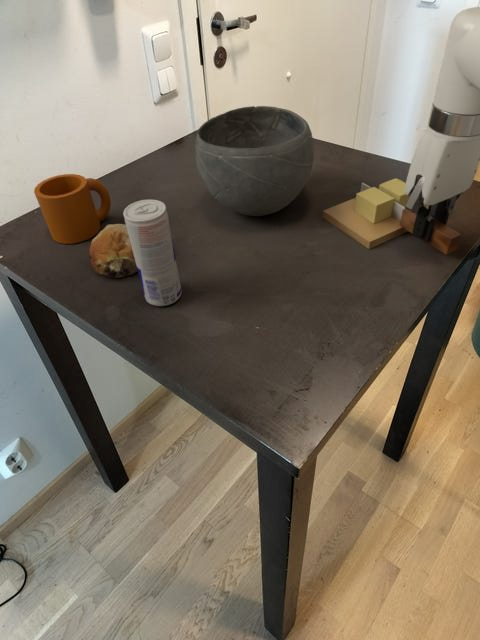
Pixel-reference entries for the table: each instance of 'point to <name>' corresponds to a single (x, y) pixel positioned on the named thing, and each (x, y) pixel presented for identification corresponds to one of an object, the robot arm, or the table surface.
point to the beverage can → (153, 251)
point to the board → (362, 225)
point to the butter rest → (395, 190)
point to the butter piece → (374, 204)
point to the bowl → (255, 158)
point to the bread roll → (113, 252)
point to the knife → (441, 234)
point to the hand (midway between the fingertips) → (427, 233)
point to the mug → (72, 207)
